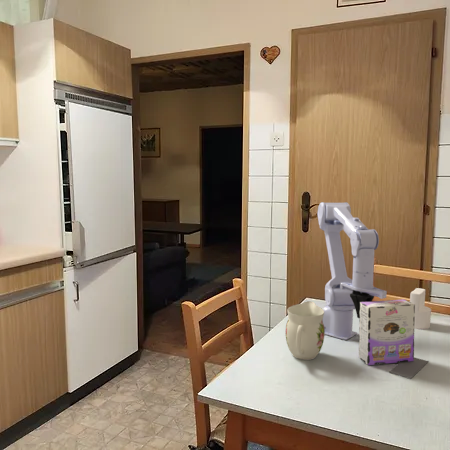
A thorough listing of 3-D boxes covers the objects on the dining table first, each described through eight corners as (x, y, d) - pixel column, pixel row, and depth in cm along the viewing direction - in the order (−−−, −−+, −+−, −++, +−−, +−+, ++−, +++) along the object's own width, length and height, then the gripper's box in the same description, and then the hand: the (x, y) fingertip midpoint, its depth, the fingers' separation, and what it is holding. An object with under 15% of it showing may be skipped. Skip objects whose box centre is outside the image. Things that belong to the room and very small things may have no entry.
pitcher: (277, 365, 123) (278, 316, 122) (291, 342, 140) (292, 299, 139) (318, 372, 120) (319, 321, 118) (327, 347, 136) (329, 303, 135)
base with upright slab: (405, 318, 165) (407, 286, 163) (432, 324, 160) (434, 290, 158) (399, 325, 158) (401, 291, 156) (426, 331, 152) (429, 296, 151)
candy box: (402, 354, 132) (404, 298, 130) (414, 362, 126) (416, 303, 124) (357, 357, 130) (358, 300, 128) (367, 365, 124) (368, 306, 122)
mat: (389, 372, 120) (389, 371, 120) (407, 356, 131) (407, 355, 131) (410, 378, 116) (411, 377, 116) (428, 362, 127) (428, 361, 127)
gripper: (393, 274, 128) (391, 321, 129) (351, 266, 139) (349, 309, 140) (378, 277, 123) (376, 326, 125) (336, 268, 135) (334, 313, 136)
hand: (361, 317), depth 132 cm, fingers closed
